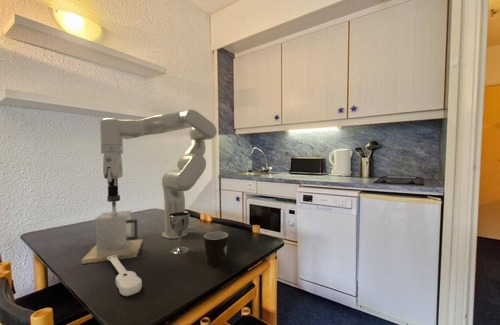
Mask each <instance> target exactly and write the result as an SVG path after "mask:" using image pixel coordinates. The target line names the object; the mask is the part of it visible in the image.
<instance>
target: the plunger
mask: <svg viewBox="0 0 500 325" xmlns="http://www.w3.org/2000/svg"><path fill="white" fill-rule="evenodd" d="M120 201H121V195H120V194H118V195H117V196H108V195H107V202H109V203H111V209H112V210H111V212H112V215H116V212H117V202H120Z"/></svg>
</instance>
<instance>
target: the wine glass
mask: <svg viewBox="0 0 500 325" xmlns="http://www.w3.org/2000/svg"><path fill="white" fill-rule="evenodd" d="M190 216H191V215H190V212H189V211H185V212H174V213H171V214H169V222H170V227H171V229H172V230H173V231H174V232H175V233H176V234H177V236H178V238H177V239H178V247H175V248H172V249H171V251H170V253H172V255H173V254H174V255H183V254H185V253H187V252H189V251H190V248H189V247H186V246H182V238H183V237H182V235H183V233H184V232H185V230H186V229H187V228H188V226H189V225H190Z"/></svg>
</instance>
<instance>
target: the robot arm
mask: <svg viewBox="0 0 500 325" xmlns="http://www.w3.org/2000/svg"><path fill="white" fill-rule="evenodd" d="M99 122H100V124H99V125H100V154H103V160H102V164H103V166H102V169H103V172H102V174H103V178H104V179H106V181H107V196H117V195H119V183H118V182H119V179H120V178H122V177H123V176H124V175H123V173H124V172H123V160H122V159H123V158H122V154H123V155H124V148H123V144H124V142H123V141H124V140H132V139H136V138H140V137H145V136H149V135H160V134H165V133H170V132H174V131H179V130H183V129H185V130H186V129H189V128H190V130H189V138H190V145H189V147H188V148H187V149H186V150H185V152H184V153H183V154H182V155H181V157H180V158H179V159H178V161H177V165H176V166H177V168H178V169H171V170H168V171H166V172H165V173H164V174H163V175H162V178H161V186H162V191H163V197H164V198H163V201H164V207H163V208H164V231H163V232H162V233H161V237H162V238H163V239H167V240H170V239H171V240H174V239H178V236H177V234H176V233H175V232H174V231H173V230H172V229H171V227H170V222H169V214H171V213H174V212H186V198H185V193H184V192H187V191H189V190H191V189H192V188H193V187H194V186H195V184H196V183H197V181H199V179H200V177H201V176H202V175H203V173H204V172H205V170H206V166H207V161H206V158H205V156H204V155H205V153H206V150H207V149H206V142H205V140H206V141H208V140H212V139H214V138H215V137H216V135H217V127H216V125H215V124H214V123H213V122H211V121H210V120H209V119H207V118H206V116H204V115H203V114H201V113H200V112H199V111H196V110H194V109H187V110H183V111H177V112H170V113H164V114H163V113H162V114H157V115H154V116H150V117H147V118H142V119H118V118H112V117H111V118H110V117H104V118H102V119H100V121H99ZM192 230H196V225H192V224H189V225H188V228H187V229H186V230H185V232H184V233H183V235H182V237H181V238H184V237H187V236H188V235H189V233H190V231H192Z"/></svg>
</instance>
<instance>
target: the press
mask: <svg viewBox="0 0 500 325" xmlns="http://www.w3.org/2000/svg"><path fill="white" fill-rule="evenodd" d="M131 213H132V210H124V211H123V210H122V211H116V215H112V211H110V212H109V211H108V212H102V213H101V214H100V215H98V216H97V217H96V218H94V220H95V221H94V222H95V230H96V231H95V232H96V234H95V236H96V237H97V238H96V244H95V245H94V246H93V247H92V248H91V249H90V250H89V252H88V253H87V254H86V255H85V256H83V258H82V259H81V265H85V264H92V263H93V264H94V263H101V262H107V261H110V260H108V259H107V257H109V256H112V255H116V256H117V258H118V260H125V259H131V258H132V259H133V258H137V256H138V254H139V252H140V250H141V247H142V246H143V242H144V241H143V239H142V238H141V239H139V230H138V228H139V226H138V225H139V224H138V218H134V219H132V218H131V216H132V215H131ZM132 224H134V225H133V226H134V227H133V228H134V235H132ZM109 259H110V258H109ZM110 262H111V261H110Z"/></svg>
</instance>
